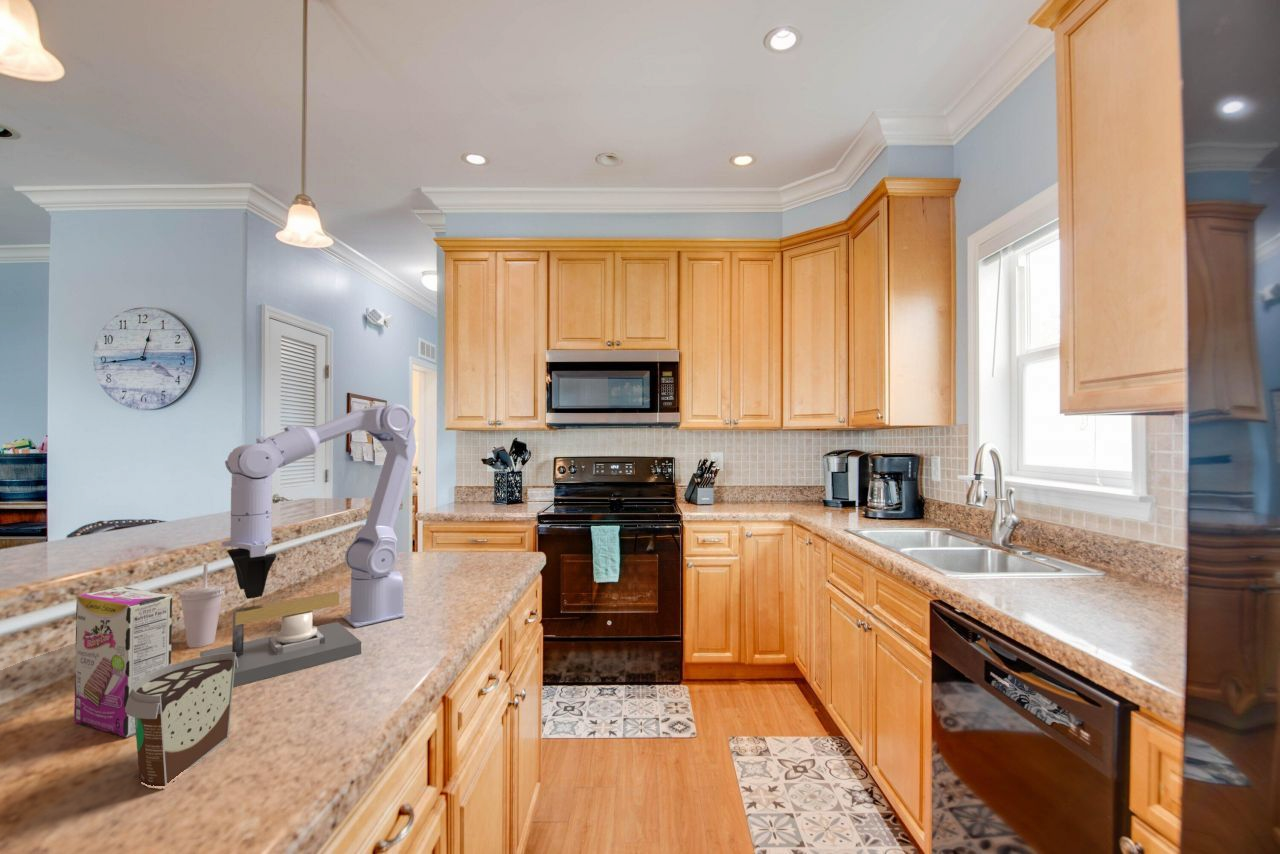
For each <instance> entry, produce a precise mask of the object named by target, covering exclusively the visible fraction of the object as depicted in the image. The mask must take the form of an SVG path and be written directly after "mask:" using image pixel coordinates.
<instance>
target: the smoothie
mask: <svg viewBox="0 0 1280 854" xmlns="http://www.w3.org/2000/svg"><path fill="white" fill-rule="evenodd" d="M208 567H209V565H208V563H205V564H203V578H202V580H203V582H202V583H203V584H202V585H198V586H194V587H189V588H186V589H184V590H180V591H179V593H178V600H180V602H181V609H182V616H183V622H184V629H185V630H184V631H185V637H186V642H187V643H186V645H187V648H190V649H195V648H203V647H206V646H210V645H212V644H214V643H215V640H216V636H217V635H216V634H217V629H218V623H219V616H220V611H221V605H222V600H223V599H222V597H223V594H224V593H225V592H226V591H225V589H226V587H225V585H223V584H208V572H209V571H208V570H209V569H208Z"/></svg>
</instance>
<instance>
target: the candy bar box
mask: <svg viewBox="0 0 1280 854" xmlns="http://www.w3.org/2000/svg"><path fill="white" fill-rule="evenodd" d="M75 598H76V604H75V605H76V608H75V610H76V613H75V615H76V616H75V666H74V668H75V669H74V672H75V673H74V675H75V677H74V679H75V680H74V708H73V709H74V710H73V711H74V712H73V722H74V723H77V724H80V725H84V726H87V727H90V728H93V729H97V730H100V731H104V732H107V733H109V734H110V733H111V734H113V735H117V736H120V737H123V738H130V737H133V736H136V729H135V717H132V716H130V715H128V714H127V713H126V712H125V707H126V704H127V700H128V697H129V694H130V692H131V690H132V689H133V687H134V685H135V683H136V682H137V681H138V680H140V679H141V678H143V677H144V676H146V675H148V674H150V673H152V672H154V671H156V670H158V669H161V668H163V667H166V666H169V665H172V629H173V628H172V627H173V625H172V624H173V623H172V622H173V620H172V618H173V594H168V593H164V592H157V591H151V590H150V591H149V590H143V589H138V588H134V587H133V588H131V587H125V586H117V587H113V588H112V587H110V588H108V589H101V590H97V591H94V592H92V591H91V592H86V593H84V594H80V595H76V597H75Z"/></svg>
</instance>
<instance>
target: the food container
mask: <svg viewBox="0 0 1280 854" xmlns="http://www.w3.org/2000/svg"><path fill="white" fill-rule="evenodd" d="M235 668H238V661H237V657H236V652H232V653H220V654H213V655H208V656H202V657H200V656H197V657H193V658H191V659H185V660H182V661H179V662H176V663H173V664H172V663H171V665H169V666H166V667H163V668H161V669H158V670H156V671H154V672H152V673H150V674H148V675H146V676H144V677H143V678H141V679H140V680H138V681H137V682H136V683H135V685H134V687H133V689H132V690H131V692H130V694H129V697H128V700H127V704H126V707H125V712H126V713H127V714H128V715H130V716H132V717H135V729H136V734H135V740H136V751H137V752H136V753H137V763H138V765H137V766H138V773H139V774H138V775H139V781H140V780H141V782H143V783H145V784H147V785H151V786H153V785H154V786H166V785H167V783H169V782H170V781H171V780H172V779H174V778H175V777H176V776H178V775H179V774H180V773H181V772H183V771H184V770H186V769H189V768H190V767H192V766H193V765H195V764H196V763H197V762H199V761H200V760H201V759H202V758H204V757H205V756H206V755H207V756H208V754H209V753H210V754H211V753H212V752H214V751H215V750H216V749H218V748H219V747H220V746H221V745H222V744H223V743H224V742H226V741H227V740H228V739H229V736H230V724H231V715H232V713H231V711H232V702H233V692H234V690H233V689H234V687H233V682H234V671H235ZM213 750H214V751H213ZM210 754H209V755H210ZM207 756H206V757H207ZM206 757H205V758H206ZM202 760H203V759H202ZM202 760H201V761H202ZM201 761H200V762H201ZM200 762H199V763H200ZM197 764H198V763H197ZM197 764H196V765H197ZM196 765H195V766H196ZM192 768H193V767H192Z"/></svg>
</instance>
